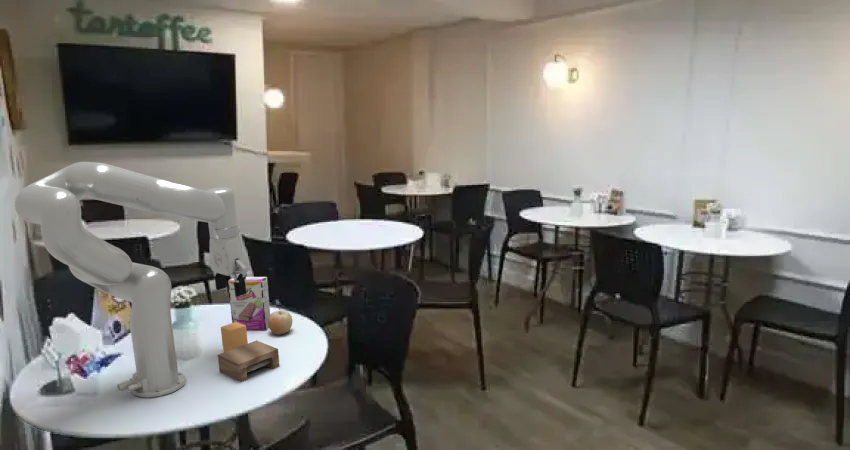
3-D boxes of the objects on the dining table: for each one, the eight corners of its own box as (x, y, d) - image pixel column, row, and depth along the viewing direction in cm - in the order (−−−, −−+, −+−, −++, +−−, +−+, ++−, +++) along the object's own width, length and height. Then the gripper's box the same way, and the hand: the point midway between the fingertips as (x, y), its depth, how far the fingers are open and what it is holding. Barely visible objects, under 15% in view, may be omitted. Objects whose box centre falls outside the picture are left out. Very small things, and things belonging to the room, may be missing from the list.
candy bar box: (232, 330, 192) (226, 280, 189) (238, 325, 197) (233, 276, 194) (266, 331, 191) (261, 280, 188) (272, 325, 196) (267, 275, 192)
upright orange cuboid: (233, 357, 172) (230, 330, 170) (223, 353, 175) (220, 327, 173) (248, 351, 175) (245, 325, 174) (238, 347, 179) (236, 321, 177)
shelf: (240, 382, 156) (238, 364, 155) (219, 372, 163) (217, 354, 162) (279, 366, 165) (278, 348, 164) (258, 357, 172) (256, 340, 170)
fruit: (271, 329, 193) (269, 304, 191) (294, 327, 193) (292, 303, 191) (266, 338, 185) (264, 313, 183) (291, 336, 185) (288, 311, 184)
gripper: (195, 231, 171) (202, 290, 175) (229, 239, 160) (236, 301, 164) (219, 226, 176) (226, 283, 180) (253, 233, 165) (260, 293, 169)
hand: (231, 291), depth 172 cm, fingers open, 9 cm apart
